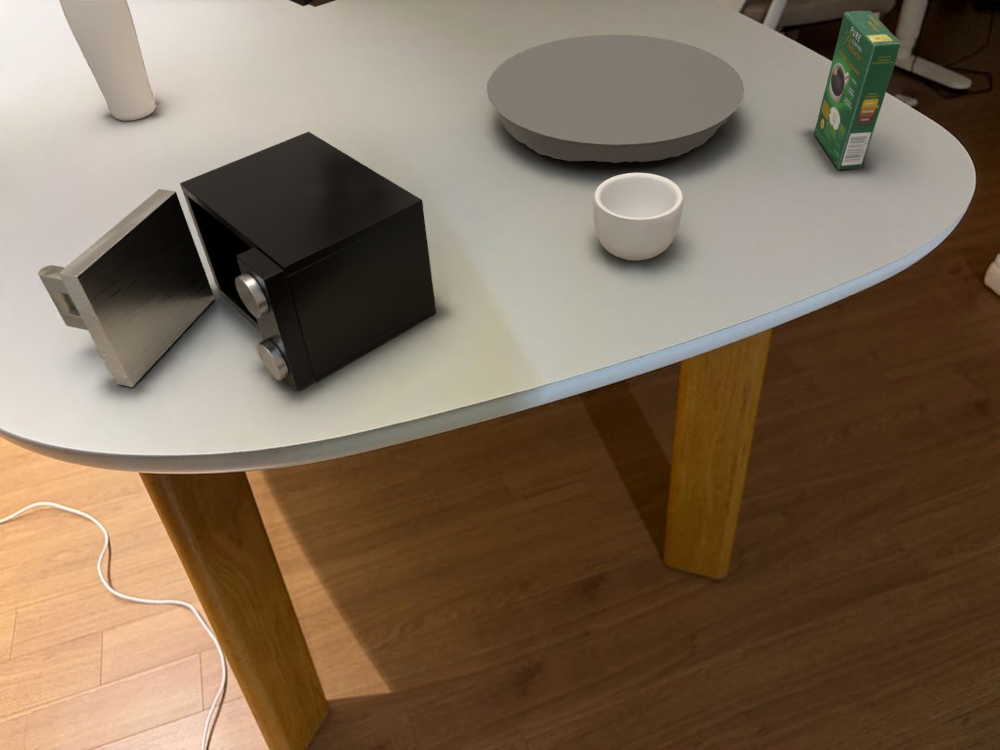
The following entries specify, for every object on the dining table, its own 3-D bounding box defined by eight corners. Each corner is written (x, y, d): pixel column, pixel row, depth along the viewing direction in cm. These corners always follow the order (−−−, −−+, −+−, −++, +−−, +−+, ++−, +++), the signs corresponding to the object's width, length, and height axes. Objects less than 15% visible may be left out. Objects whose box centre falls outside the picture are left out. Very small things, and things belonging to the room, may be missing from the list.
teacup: (654, 281, 69) (660, 228, 66) (576, 256, 73) (578, 205, 69) (698, 225, 75) (706, 174, 72) (624, 204, 79) (628, 154, 75)
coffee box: (865, 170, 81) (904, 40, 72) (837, 172, 81) (873, 42, 72) (838, 133, 87) (872, 8, 78) (812, 134, 87) (842, 10, 78)
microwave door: (56, 370, 64) (-7, 260, 57) (145, 285, 72) (99, 179, 65) (132, 387, 62) (76, 276, 55) (215, 298, 70) (176, 191, 63)
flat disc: (514, 65, 104) (513, 30, 101) (736, 75, 99) (742, 39, 96) (463, 175, 84) (460, 135, 81) (737, 194, 79) (745, 152, 76)
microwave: (289, 398, 61) (252, 282, 53) (193, 305, 70) (150, 194, 62) (436, 313, 68) (422, 199, 60) (332, 238, 77) (308, 131, 69)
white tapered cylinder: (170, 114, 98) (126, -16, 87) (114, 130, 95) (61, -2, 85) (154, 95, 102) (109, -31, 92) (100, 111, 99) (48, -18, 89)
